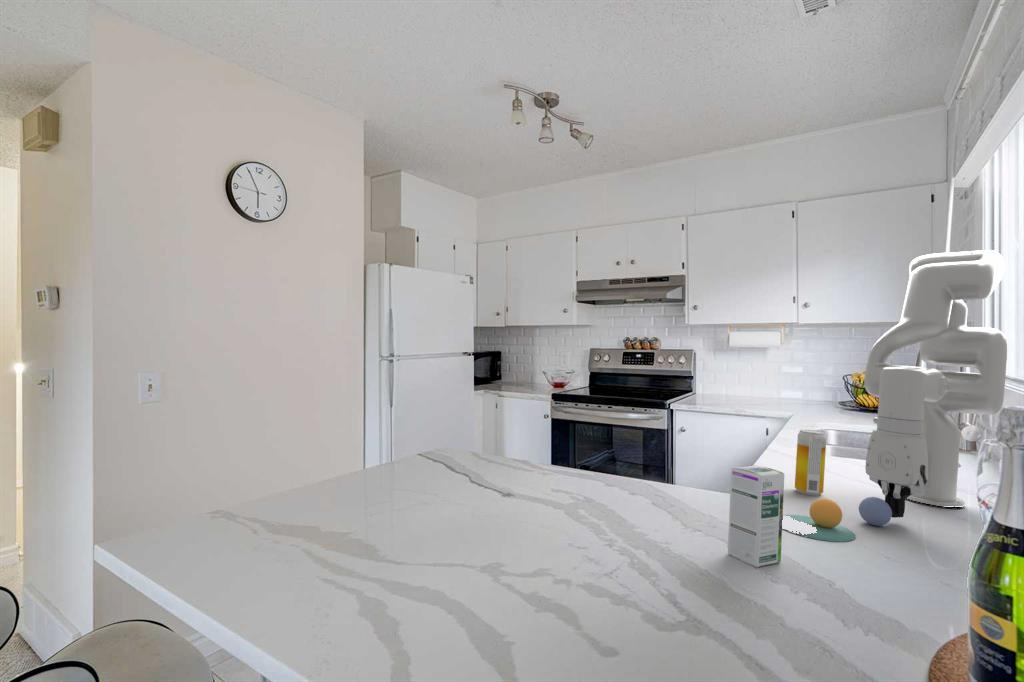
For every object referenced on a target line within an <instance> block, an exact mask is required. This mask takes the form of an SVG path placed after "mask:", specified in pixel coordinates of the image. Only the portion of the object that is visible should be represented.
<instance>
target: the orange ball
mask: <svg viewBox="0 0 1024 682" xmlns="http://www.w3.org/2000/svg"><path fill="white" fill-rule="evenodd" d="M809 515H810V516H809V517H811V518H812V520H813V521H814V522H815V523H816V524H817V525H819V526H821V527H824V528H833V527H835V526H837V525H840V524H841V522H842V520H843V510H842V509H841V507H840V506H839V505H838V504H837V502H835V501H833V500H832V499H829V498H819V499H816V500H814V501H813V502H812V503H811V505H810V507H809Z"/></svg>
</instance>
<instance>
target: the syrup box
mask: <svg viewBox="0 0 1024 682" xmlns="http://www.w3.org/2000/svg"><path fill="white" fill-rule="evenodd" d="M730 470H731V471H730V491H729V492H730V494H729V513H728V514H729V516H728V520H729V521H728V538H727V539H728V540H727V553H728V555H730V556H732V557H734V558H735V559H737V560H739V561H742V562H744V563H746V564H748V565H750V566H751V567H755V568H760V567H763V566H767V565H773V564H778V563H781V561H782V539H783V529H782V520H783V515H784V492H785V491H784V489H785V473H784V472H782V471H779V470H777V469H773V468H770V467H766V466H760V465H757V464H756V465H755V464H754V465H752V466H751V465H750V466H749V465H748V466H741V467H740V466H739V467H734V466H733V467H732V468H731V469H730Z"/></svg>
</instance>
